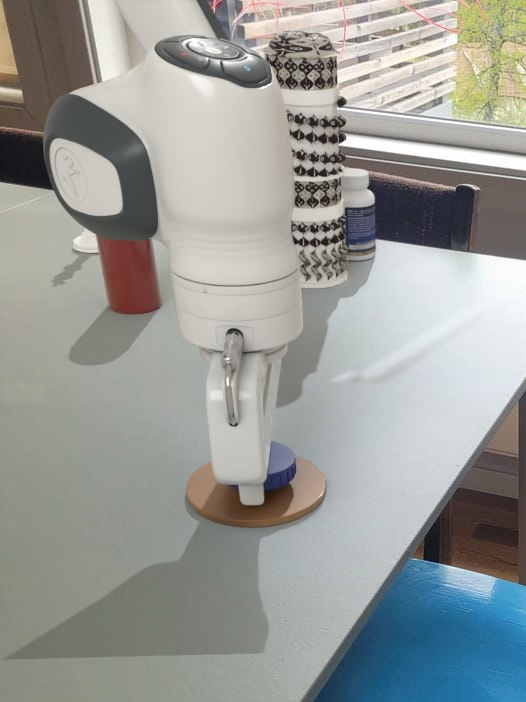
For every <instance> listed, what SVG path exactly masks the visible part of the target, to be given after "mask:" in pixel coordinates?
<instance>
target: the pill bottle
mask: <svg viewBox="0 0 526 702" xmlns="http://www.w3.org/2000/svg"><path fill="white" fill-rule="evenodd" d="M369 175H370V173H369V171H367V170H366V169H362V168H353V167H352V168H350V167H349V168H348V167H347V168H344V175H342V176H341V197H342V198H343V213H344V214H345V216H346V218H347V221H346V222H345V225H344V226H343V227H344V228H345V230H346V231H347V235H346V238H345V239H344V240H343V241H344V242H345V243H346V246H347V247H348V251H347V252H346V253H347V255H346V258H347V260H348V261H354V262H355V261H356V262H359V261H361V262H362V261H366V260H369V259H372V258H373V257H375V255H376V252H377V251H376V250H377V245H376V244H377V242H376V241H377V240H376V197H375V193H374V192H373V191H371V190H370V189H368V187H369V186H370V176H369Z"/></svg>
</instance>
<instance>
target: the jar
mask: <svg viewBox="0 0 526 702" xmlns="http://www.w3.org/2000/svg"><path fill="white" fill-rule="evenodd" d="M95 235H96V234H95ZM96 240H97V246H98V251H99V253H98V256H99V262H100V266H101V273H102V278H103V283H104V289H105V293H106V300H107V306H108V308H109V309H110V310H111V311H113V312H115V313H119V314H125V315H126V314H128V315H136V314H138V315H139V314H145V313H150V312H154V311H156V310H158V309H159V308H160V307H161V306H162V304H163V302H162V295H161V289H160V281H159V276H158V268H157V262H156V255H155V250H154V249H155V248H154V242H153V239H146V240H140V241H123V240H112V239H106V238H102V237H100V236H98V235H96Z"/></svg>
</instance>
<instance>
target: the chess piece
mask: <svg viewBox="0 0 526 702" xmlns="http://www.w3.org/2000/svg"><path fill="white" fill-rule="evenodd" d="M72 244H73V245H72V248H73V249H74V250H75V251H76V252H80V253H86V254H99V251H98V246H97V240H96V235H95V234H94V233H92V232H91V231H89V230H87V229H86V228H85V227H83V231H82V232H81V235H79V236H77V237H74V239H73V240H72Z"/></svg>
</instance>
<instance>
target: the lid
mask: <svg viewBox="0 0 526 702" xmlns="http://www.w3.org/2000/svg"><path fill="white" fill-rule="evenodd" d="M295 456H296V455H295V453H294V450H292V449H291V448H290V447H288V446H287V445H285V444H283V443H280V442H277V441H272V440H271V447H270V455H269V463H268V471H267V478H266V480H265V482H264V485H265V491H266V490H272V489H276V488H279V487H282V486H284V485H286V484H288V483H290V481H292V479H294V476H295V474H296V458H295ZM229 486H231V487H234V488H237V489H239V486H238V485H229Z"/></svg>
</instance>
